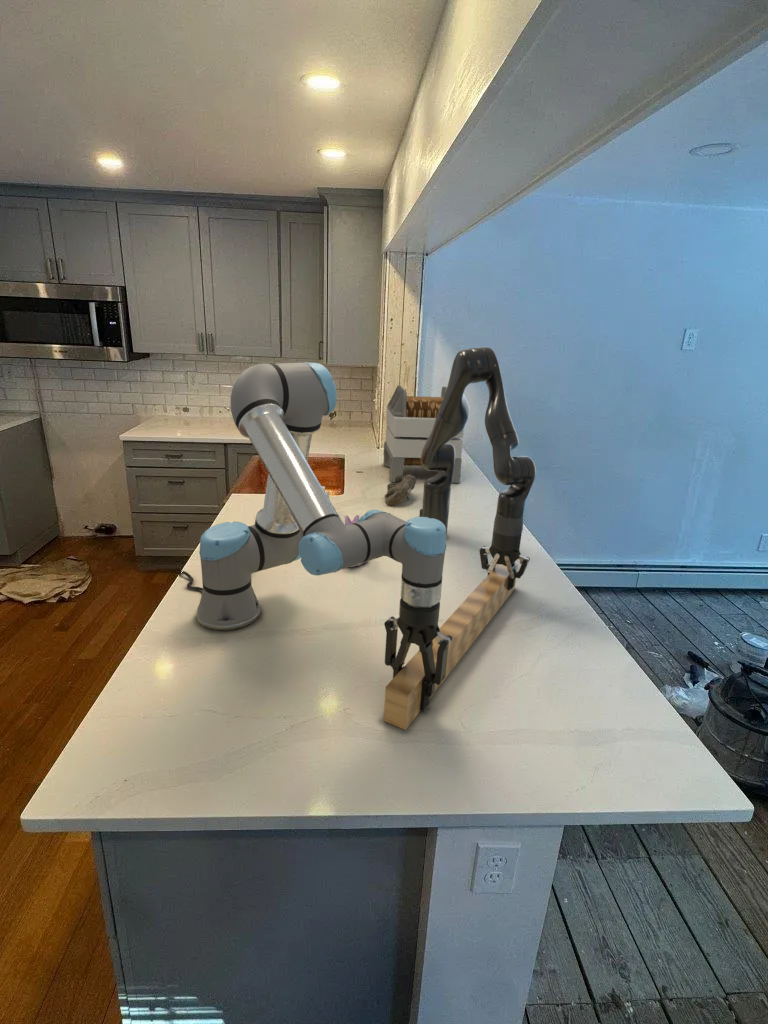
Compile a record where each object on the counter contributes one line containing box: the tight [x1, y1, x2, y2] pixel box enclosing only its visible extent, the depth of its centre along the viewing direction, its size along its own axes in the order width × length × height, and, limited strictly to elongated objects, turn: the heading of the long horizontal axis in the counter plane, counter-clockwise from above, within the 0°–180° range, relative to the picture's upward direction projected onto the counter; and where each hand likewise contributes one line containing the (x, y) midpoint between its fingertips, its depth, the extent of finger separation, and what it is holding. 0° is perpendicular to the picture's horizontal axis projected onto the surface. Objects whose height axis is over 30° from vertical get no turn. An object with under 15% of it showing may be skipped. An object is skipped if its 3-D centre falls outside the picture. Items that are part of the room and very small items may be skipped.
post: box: [383, 562, 519, 731], centre depth 135 cm, size 69×5×8 cm, turn 151°
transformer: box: [383, 384, 465, 484], centre depth 268 cm, size 34×33×41 cm
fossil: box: [384, 473, 417, 506], centre depth 235 cm, size 22×10×15 cm
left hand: (412, 701), depth 114 cm, fingers closed on post, 5 cm apart
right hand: (500, 586), depth 157 cm, fingers closed on post, 4 cm apart
